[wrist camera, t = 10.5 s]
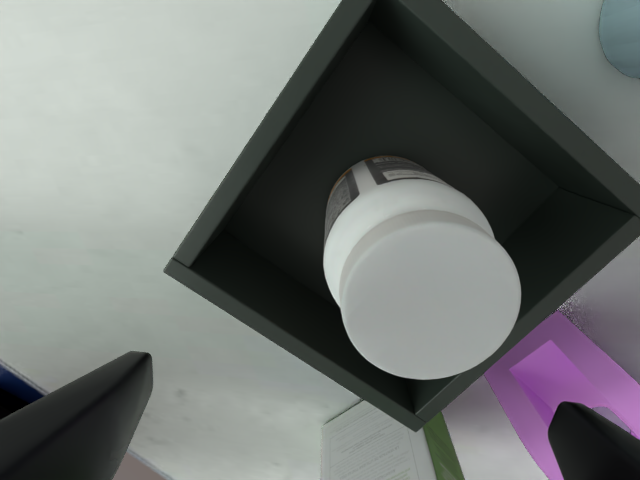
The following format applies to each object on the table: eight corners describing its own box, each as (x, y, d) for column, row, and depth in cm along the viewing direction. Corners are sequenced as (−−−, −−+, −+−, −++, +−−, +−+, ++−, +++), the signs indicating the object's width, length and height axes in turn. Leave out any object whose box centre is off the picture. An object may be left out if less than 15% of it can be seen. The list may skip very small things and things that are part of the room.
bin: (396, 357, 23) (416, 433, 17) (206, 228, 20) (162, 271, 15) (574, 181, 19) (669, 211, 13) (364, -6, 16) (379, -58, 11)
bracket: (480, 367, 23) (539, 473, 16) (557, 309, 21) (658, 401, 15) (602, 477, 25) (695, 605, 19) (679, 433, 24) (809, 556, 17)
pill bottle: (370, 280, 20) (401, 429, 11) (303, 200, 19) (275, 292, 10) (460, 219, 19) (584, 329, 10) (396, 127, 18) (468, 152, 8)
